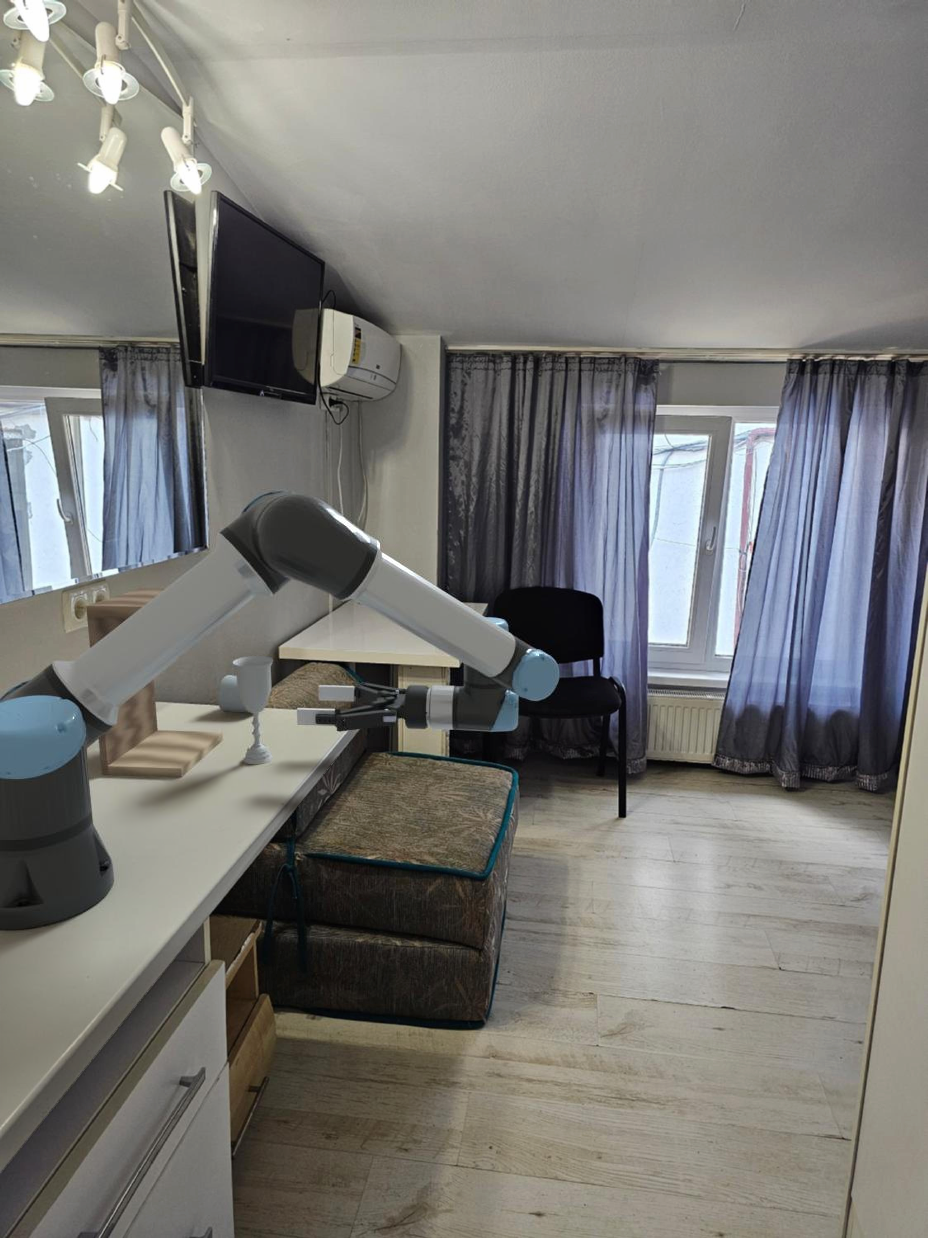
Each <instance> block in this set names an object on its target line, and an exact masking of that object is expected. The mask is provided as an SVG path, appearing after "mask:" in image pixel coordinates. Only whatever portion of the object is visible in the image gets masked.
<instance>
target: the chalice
mask: <svg viewBox="0 0 928 1238" xmlns="http://www.w3.org/2000/svg"><path fill="white" fill-rule="evenodd" d="M273 662H274V659H273V658H272V657H268V656H261V655H257V656H256V655H255V656H254V655H253V656H251V655H250V656H244V657H239V658H236V659H234V660H233V661H232V664H233V666H234V667H235V668H236V669H235V671H236V676H237V690H238V693H239V695H240V698H241V700H242V702H243V703H244V705H245V707H246V709H247V710H248V712H251V713H250V714H252V716H253V719H252V722H251V724H252V726H253V731H252V732H251V735H252V736H253V738H254V741H253V743H252V745H250V746H249V747H247V749H246V752H245V757H244V758H243V762H244V763H245V764H249V765H261V764H262V765H263V764H266V763H268V762H270V761H272V760H273V755H272V754H271V751H270V750H269V747H268V746H267V745H266V744H263V743H262V742H261V740H260V738H261V734H263V732H262V731H261V730H260V725H261V721H260V718H259V717H260V716H259V715H260V714H259V713H261V712H263V711H264V709H265V707H266V705H267V702H268V700H269V697H270V693H271V691H272V672H271V670H272V669H271V667H272V665H273Z"/></svg>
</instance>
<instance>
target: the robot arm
mask: <svg viewBox="0 0 928 1238" xmlns="http://www.w3.org/2000/svg"><path fill="white" fill-rule="evenodd" d="M293 580H294V581H296V582H298V583H302V584H305V585H308V586H310V587H313V588H315V589H316V590H317V589H318V590H320V591H323V592H324V593H326V594H328V595H331V596H332V597H334V598H335V599H337V600H339V601H340V602H341V601H342V602H344V601H349V600H353V601H356V602H357V603H359V604H361V605H362V606H364V607H366V608H368V610H371V611H372V612H374V613H376V614H378V615H379V616H381V617H383V618H385V619H387V620H388V621H390V622H391V623H393V624H395V625H397V626H399V627H401V629H404V630H406V631H408V632H409V633H410V634H412V635H414V636H416V637H417V638H420V639H421V640H423V641H425V642H427V643H428V644H430V645H431V646H433V647H435V648H437V649H438V650H440V651H442V652H443V653H445V654H447V655H448V656H450V657H452V658H453V659H455V660H457V661H459V662H461V663H462V664H463V685H462V686H457V685H439V684H438V685H435V684H434V685H432V686H431V688H430V687H429V686H428V685H425V684H424V685H421V684H420V685H419V684H417V685H415V684H414V685H413V684H410V685H408V686H407V687H406V688H405V687H404V688H401V687H399V688H398V687H391V686H387V685H381V684H375V683H371V682H370V683H369V682H361V683H360V684H357V685H355V686H354V685H330V684H329V685H328V684H327V685H325V684H324V685H323V684H322V685H321V684H319V685H318V690H317V691H318V701H323V702H355V704H358V703H365V704H366V705H363V706H357V707H354V708H348V709H342V710H341V708H340V707H337V706H336V707H335V708H314V707H313V708H309V707H297V709H296V719H297V721H296V722H297V726H321V727H322V726H325V727H326V726H327V727H328V726H329V727H335V728H336V731H337V732H340V733H341V732H347V731H355V730H356V731H357V730H363V729H372V728H380V727H395V726H397V720H400V719H402V720H404V723H405V727H406V728H407V729H411V730H412V729H413V730H426V729H427V728H431V729H432V730H442V731H443V732H444V733H448V732H449V731H450V730H455V731H456V730H457V731H459V730H460V731H477V732H479V731H480V732H490V733H493V732H511V731H514V730H516V729H517V728H518V725H519V697H520V698H522V699H526V700H529V701H533V702H534V701H535V702H538V701H541V700H544V699H546V698H548V697H549V696H551V694H552V693H553V692H554V691H555V689H556V688H557V685H558V683H559V680H560V667H559V665H558V663H557V661H556V660H555V659H554V658H553V657H552V655H549V654H548V653H546V652H545V651H543V650H541V649H537V648H535V647H533V646H531V645H529V644H528V643H527V642H525V641H523V640H521V639H520V638H518V637H517V636H515V635H513V634H512V633H511V632H509V631H510V630H509V625H508V622H507V621H506V620H505V619H503V618H498V617H490V616H489V617H487V616H486V617H485V616H484V615H482V614H481V613H479V612H478V611H476V610H474V609H473V608H471V607H470V606H468V605H466V604H465V603H463V602H462V601H460V600H458V599H457V598H455V597H453V596H452V595H450V594H449V593H447V592H446V591H444V590H442V589H441V588H439V587H438V586H436V585H434V584H433V583H431V582H430V581H429V580H427V579H425V578H424V577H422V576H420V575H419V574H417V573H416V572H414V571H412V569H411V570H410V569H409V568H408V567H406V566H405V565H403V564H401V563H400V562H398V561H397V560H396V559H393V558H392V557H390V555H387V554H386V553H384V552H383V551H381V545H380V542H379V540H378V539H376V538H374V537H373V536H371V535H370V534H368V533H367V532H365V531H364V530H362V529H361V528H359V527H358V526H357V525H356V524H354V523H353V522H351V521H350V520H349V519H347V518H346V517H344V515H342V514H341V513H340V512H339V511H337V510H336V509H335V508H333V507H332V506H331V505H329V504H328V503H326V502H325V501H324V500H321V499H319V498H318V497H316V496H311V495H309V494H302V493H296V492H294V491H288V490H274V491H268V492H265V493H263V494H260V495H257V496H256V497H255V498H253V499H252V500H251V501H249V502H248V503H247V505H246V506H245V507H244V508H243V510H242V512H241V513H240V515H239V516H238V517H237V518H236V519H234V520H233V521H232V522H231V523H229V524H228V525H226V527H224V528H223V529H222V530H220V532H218V533H217V534H216V542H215V548H214V550H213V551H212V552H209V554H208V555H206V557H204V558H203V559H201V561H199V562H197V564H195V565H193V567H192V568H190V569H189V570H188V571H186V572H185V573H183V575H182V576H180V577H178V578H177V579H176V580H175V581H173V582H172V583H171V584H170V585H169V586H167V587H166V588H164V589H165V590H163V591H162V592H161V593H160V594H158V595H157V596H156V597H155V598H153V599H152V600H151V601H149V602H148V603H147V604H146V605H144V606H143V607H142V608H141V609H139V610H138V611H137V612H136V613H134V614H133V615H132V616H130V617H129V618H128V619H127V620H125V621H124V622H123V623H122V624H120V625H119V626H118V627H116V628H115V629H114V630H113V631H111V632H110V633H109V634H108V635H106V636H105V637H104V638H103V639H101V640H100V641H99V642H97V643H96V644H95V645H94V646H92V647H91V648H90V647H89V649H87V650H85V652H83V653H82V654H80V656H78V657H77V658H76V659H74V660H69V661H67V660H66V661H65V660H55V661H53V662H52V663H50V664H49V665H47V667H45V668H44V669H43V670H42V671H40V672H39V673H38V674H36V675H35V676H34V677H32V678H31V679H27V680H25V681H22V682H20V683H18V684H16V685H13V687H11V688H9V689H8V690H7V691H6V692H5V693H4V694H2V695H1V697H0V930H22V929H30V928H36V927H42V926H46V925H49V924H54V923H57V922H60V921H64V920H66V919H70V918H71V917H73V916H76V915H78V914H80V913H83V912H84V911H86V910H88V909H90V908H91V907H93V906H94V905H96V904H97V903H99V902H100V901H101V900H103V899H104V898H105V897H106V896H107V895H108V893H109V892H110V891H111V890H112V888H113V887H114V884H115V875H114V874H115V872H114V864H113V861H112V857H111V856H110V854H109V852H108V850H107V848H106V846H105V844H104V842H103V840H102V839H101V837H100V834H99V832H98V830H97V829H96V826H95V823H94V819H93V811H92V810H93V809H92V808H93V807H92V806H93V805H92V798H91V797H92V796H91V790H90V788H91V787H90V778H89V775H90V774H89V768H88V766H89V765H88V748H89V747H91V746H92V745H93V744H94V743H96V742H97V741H99V738H100V737H101V736H102V735H104V734H105V733H106V732H107V731H108V730H110V729H111V728H112V727H113V726H114V725H116V724H117V717H118V710H119V707H120V706H121V705H122V704H124V703H125V702H126V701H127V700H129V699H130V698H131V697H132V696H133V695H135V694H136V693H137V692H138V691H140V690H141V689H142V688H143V687H144V686H146V685H147V684H148V683H149V682H151V681H152V680H153V679H155V678H157V677H158V676H159V675H160V674H161V673H163V672H164V671H165V670H167V669H168V668H169V667H170V666H172V665H173V664H174V663H175V662H177V661H178V660H179V659H180V658H182V657H183V656H184V655H185V654H186V653H187V652H189V651H190V650H191V649H192V648H193V647H195V646H196V645H197V644H199V643H200V642H201V641H202V640H203V639H204V638H206V637H207V636H209V634H211V633H212V632H213V631H214V630H216V629H217V628H218V627H219V626H220V625H222V624H224V622H225V621H227V620H228V619H229V618H230V617H231V616H233V615H234V614H235V613H236V612H238V611H239V610H240V609H242V607H244V606H245V605H246V604H247V603H249V602H250V601H251V600H252V599H254V598H255V597H259V596H260V597H273V596H274V595H275V594H276V593H278V592H279V591H280V590H281V589H283V588H284V587H285V586H286V585H287V584H288V583H290V582H291V581H293ZM367 704H368V705H367Z"/></svg>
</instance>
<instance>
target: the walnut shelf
mask: <svg viewBox="0 0 928 1238" xmlns="http://www.w3.org/2000/svg"><path fill="white" fill-rule="evenodd" d="M165 589H166V588H138V589H134V590H132V591H128V592H125V593H122V594H119V595H116V596H112V597H110V598H106V599H103V600H99V601H96V602H93V603H90V604H88V605H85V606H86V607H85V608H86V610H85V611H86V619H87V620H86V621H87V630H88V638H89V640H88V641H89V649H90V648H91V647H92V646H94V645H95V644H96V643H97V642H99V641H100V640H101V639H103V638H104V637H105V636H106V635H108V634H109V633H110V632H111V631H113V630H114V629H115V628H116V627H118V626H119V625H120V624H122V623H123V622H124V621H125V620H127V619H128V618H129V617H130V616H132V615H133V614H134V613H136V612H137V611H138V610H139V609H141V608H142V607H143V606H144V605H146V604H147V603H148V602H149V601H151V600H152V599H153V598H155V597H156V596H157V595H158V594H160V593H161V592H162V591H163V590H165ZM154 679H155V678H154ZM154 679H153V680H152V681H151V682H149V683H148V684H147V685H146V686H144V687H143V688H142V689H141V690H140V691H138V692H137V693H136V694H135V695H133V696H132V697H131V698H130V699H129V700H127V701H126V702H125V703H124V704H122V705H121V706H120V707H119V710H118V717H117V724H116V725H114V726H113V727H112V728H111V729H110V730H108V731H107V732H106V733H105V734H104V735H102V736H101V737H100V738H99V739H98V746H99V747H98V748H99V749H98V750H99V757H100V769H101V775H116V776H117V775H119V776H120V775H121V776H122V775H123V776H143V777H144V776H147V777H176V778H178V777H179V778H182V777H184V776H185V775H186V774H187V773H188V772H189V771H190V770H192V768H194V766H196V765H197V764H198V763H199V762H200V761H201V760H202V759H203V758H205V757H206V755H208V754H209V753H210V752H211V751H212V750H213V749H214V748H216V747H217V746H218V745H219V744H220V743H221V742H222V741H223V740H224V737H223V736H224V735H223V734H224V733H223V731H197V730H196V731H195V730H193V731H192V730H167V729H165V730H164V729H163V730H161V729H158V720H157V719H158V717H157V707H156V706H157V705H156V703H157V702H156V693H155V692H156V691H155V690H156V689H155V680H154Z"/></svg>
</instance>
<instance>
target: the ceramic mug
mask: <svg viewBox="0 0 928 1238" xmlns="http://www.w3.org/2000/svg"><path fill="white" fill-rule="evenodd" d="M217 704H218V707H219V708H220V710H221V711H222V712H230V713H231V712H235V713H245V714H246V713H248V714H252V713H251V712H248V710H247V709H246V707H245V705H244V703H243V702H242V700H241V698H240V695H239V693H238V690H237V675H231V674H229V675H228V674H227V675H225V676H224V677H223V678H222V679H221V680H220V683H219V686H218V689H217Z"/></svg>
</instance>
